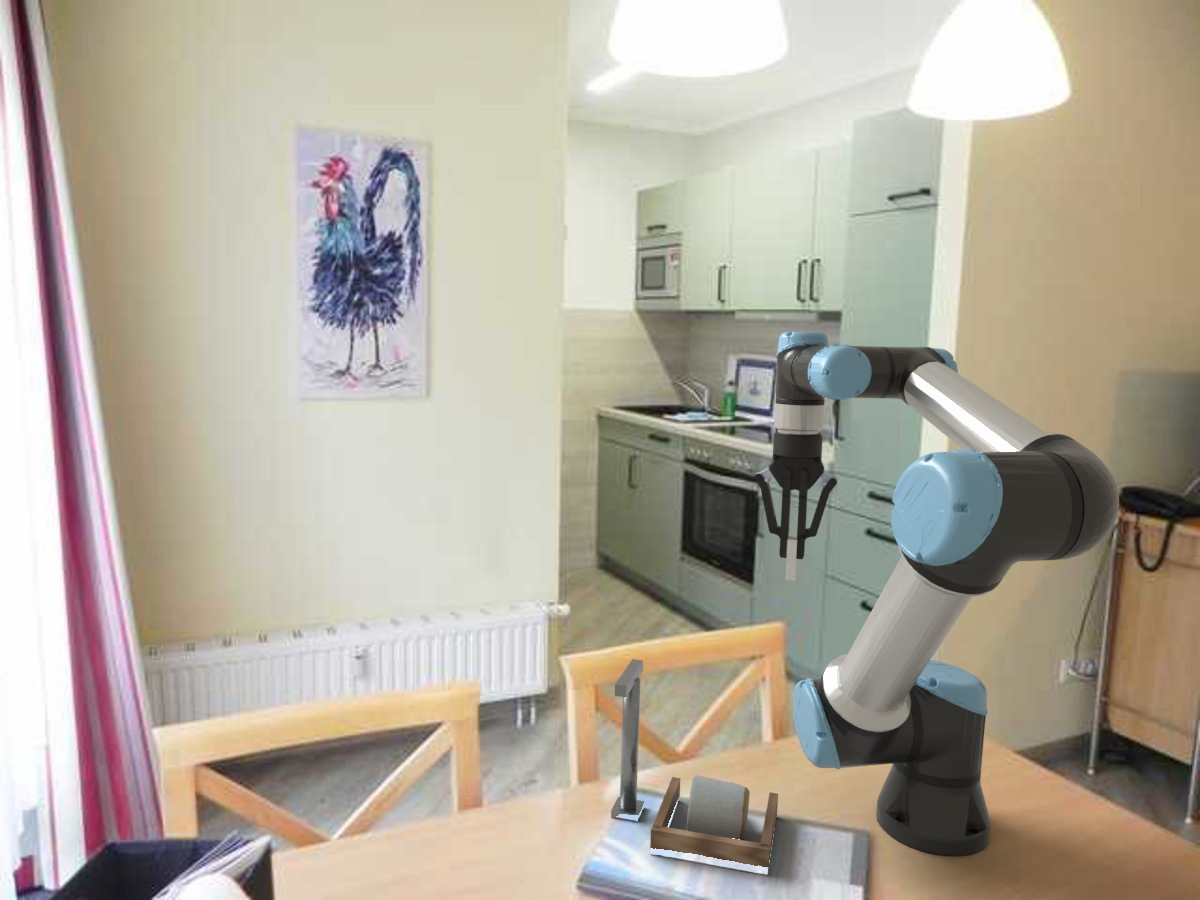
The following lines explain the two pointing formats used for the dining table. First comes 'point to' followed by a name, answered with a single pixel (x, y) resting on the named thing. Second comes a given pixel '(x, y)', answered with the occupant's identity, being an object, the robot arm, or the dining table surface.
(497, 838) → the dining table surface
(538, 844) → the dining table surface
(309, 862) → the dining table surface
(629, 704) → the t stake
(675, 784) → the tray frame
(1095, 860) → the dining table surface
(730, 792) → the grey upright rounded block
